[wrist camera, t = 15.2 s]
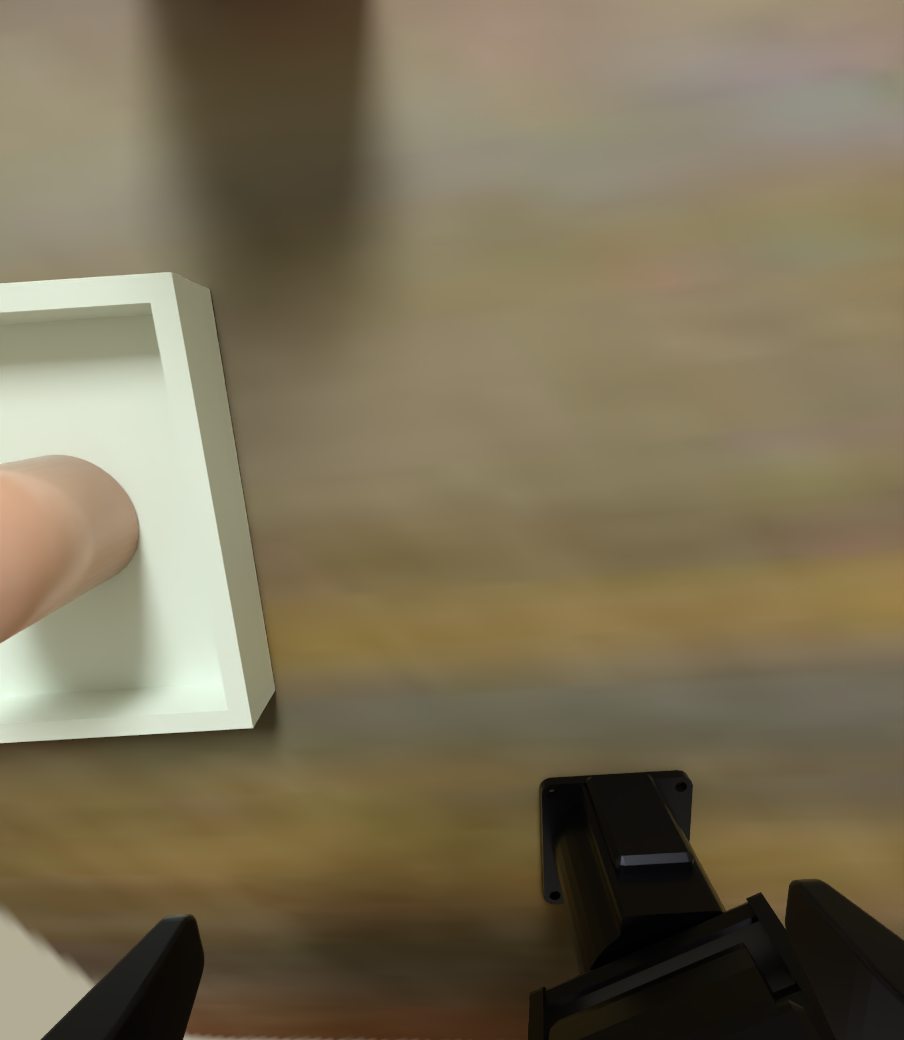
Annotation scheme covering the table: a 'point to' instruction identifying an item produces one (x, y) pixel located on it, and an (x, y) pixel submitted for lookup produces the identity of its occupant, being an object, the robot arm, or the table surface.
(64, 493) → the cup
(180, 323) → the tray
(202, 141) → the table surface
